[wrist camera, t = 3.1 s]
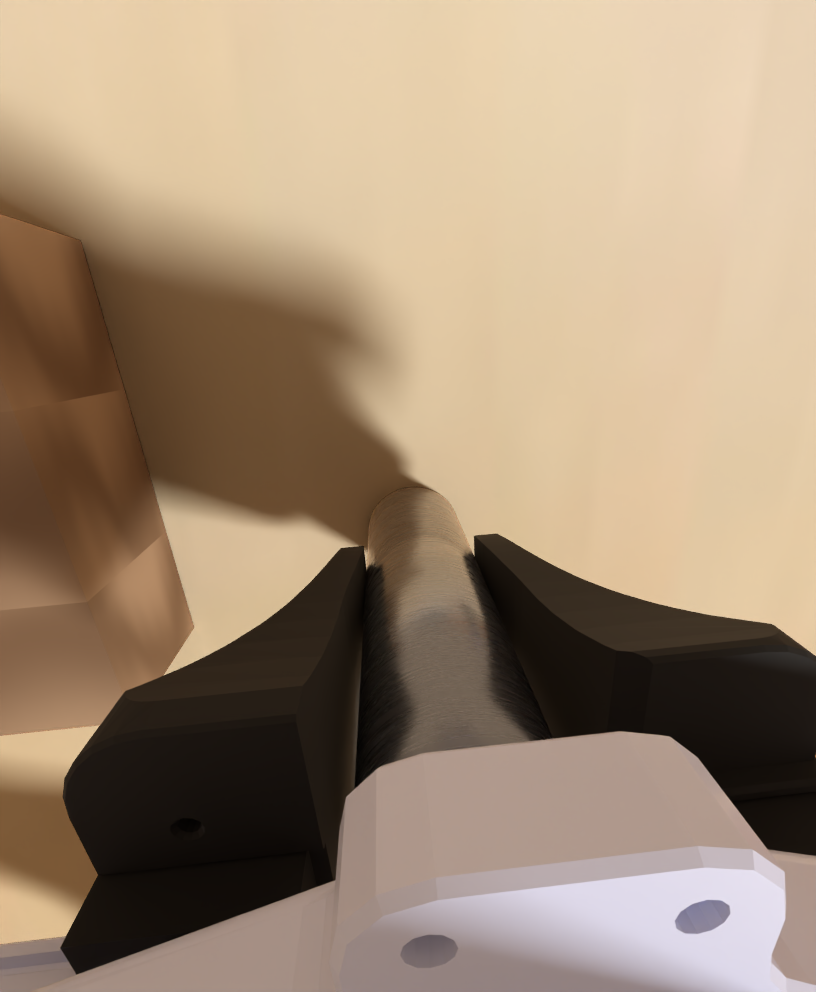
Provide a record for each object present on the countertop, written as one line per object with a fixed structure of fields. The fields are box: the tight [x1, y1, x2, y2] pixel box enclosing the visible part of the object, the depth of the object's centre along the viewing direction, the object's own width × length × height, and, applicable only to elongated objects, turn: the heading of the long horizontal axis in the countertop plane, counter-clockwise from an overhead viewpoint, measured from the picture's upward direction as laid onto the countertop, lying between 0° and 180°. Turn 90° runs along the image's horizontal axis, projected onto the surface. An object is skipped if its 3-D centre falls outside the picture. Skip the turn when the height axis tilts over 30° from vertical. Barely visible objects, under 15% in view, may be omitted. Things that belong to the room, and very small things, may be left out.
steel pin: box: [354, 487, 553, 789], centre depth 10 cm, size 3×3×10 cm
